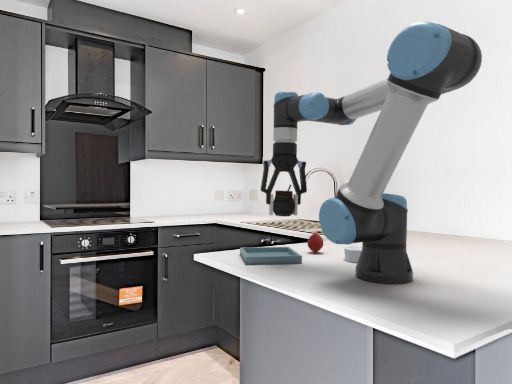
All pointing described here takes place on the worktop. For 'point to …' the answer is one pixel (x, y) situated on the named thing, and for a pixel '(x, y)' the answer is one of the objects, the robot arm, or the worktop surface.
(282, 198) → the mate gourd
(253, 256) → the slate tray
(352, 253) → the ramekin
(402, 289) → the worktop surface
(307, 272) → the worktop surface
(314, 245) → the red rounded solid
